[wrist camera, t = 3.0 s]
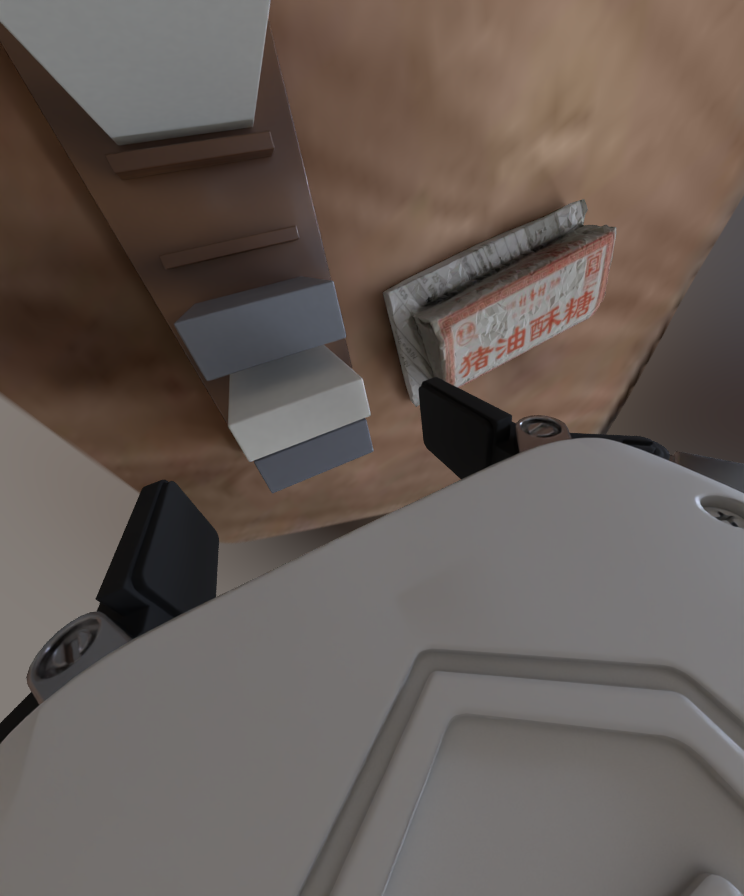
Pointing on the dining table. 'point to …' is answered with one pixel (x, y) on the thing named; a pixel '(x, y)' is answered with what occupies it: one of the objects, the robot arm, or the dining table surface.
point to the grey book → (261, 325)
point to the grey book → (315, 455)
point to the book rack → (197, 199)
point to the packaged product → (499, 298)
